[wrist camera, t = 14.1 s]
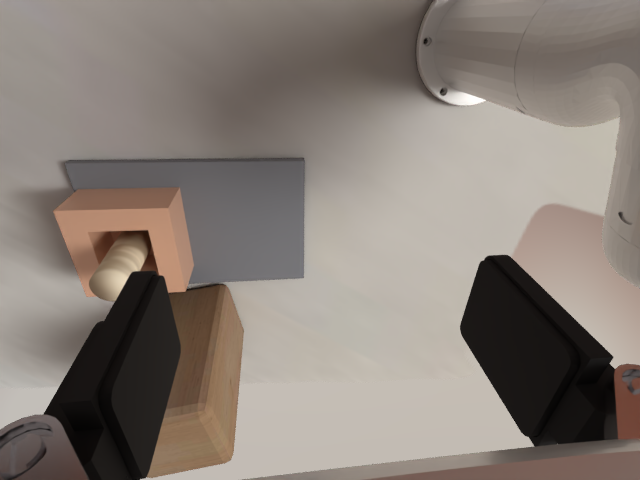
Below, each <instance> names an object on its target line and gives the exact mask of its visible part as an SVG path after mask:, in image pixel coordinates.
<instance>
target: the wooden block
mask: <svg viewBox="0 0 640 480" xmlns="http://www.w3.org/2000/svg"><path fill="white" fill-rule="evenodd" d="M169 298H170V302H171V306H172V310H173V315H174V319H175V323H176V327H177V331H178V335H179V340H180V344H181V354H180V359H179V362H178V366H177V370H176V374H175V377H174V381H173V385H172V388H171V392H170V396H169V400H168V403H167V407H166V411H165V414H164V418H163V422H162V426H161V429H160V433H159V437H158V440H157V444H156V448H155V452H154V455H153V459H152V463H151V466H150V470H149V473H148V475H147V477H149V478H153V477H158V476H163V475H168V474H173V473H178V472H183V471H188V470H193V469H198V468H203V467H207V466H213V465H218V464H223V463H226V462H228V461H230V460H231V458H232V455H233V451H234V440H235V428H236V416H237V404H238V393H239V381H240V370H241V358H242V346H243V334H244V330H243V327H242V324H241V321H240V318H239V316H238V313H237V310H236V307H235V305H234V302H233V299H232V296H231V293H230V291H229V289H228V287H227V286H226V285H223V284H220V285H215V286H210V287H204V288H199V289H194V290H188V291H186V292H178V293H172V294H169Z"/></svg>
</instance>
